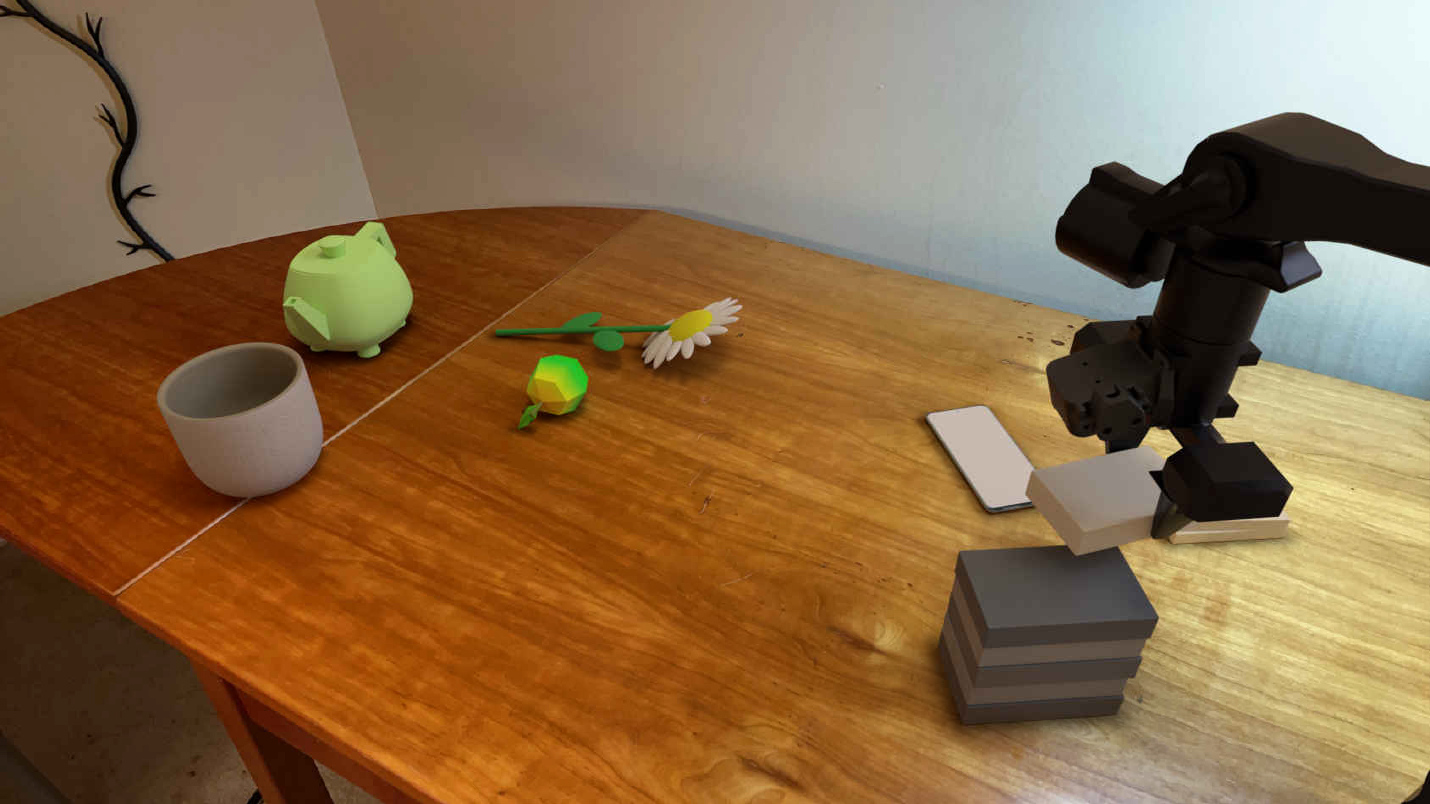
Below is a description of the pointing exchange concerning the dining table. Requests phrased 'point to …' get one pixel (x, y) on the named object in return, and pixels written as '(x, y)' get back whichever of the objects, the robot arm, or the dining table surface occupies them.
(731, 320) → the decorative flower
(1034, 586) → the grey stack
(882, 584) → the dining table surface
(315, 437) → the planter
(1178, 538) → the beige rectangular slab
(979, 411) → the smartphone
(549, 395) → the apple
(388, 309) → the teapot
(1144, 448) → the cream block
